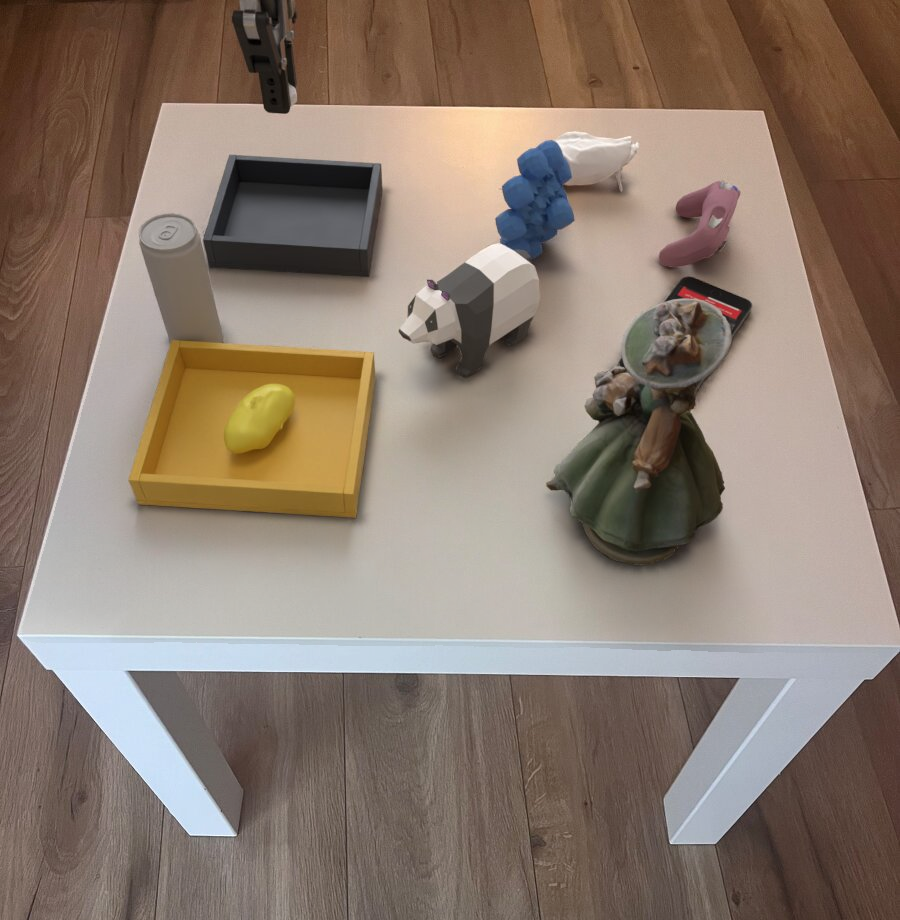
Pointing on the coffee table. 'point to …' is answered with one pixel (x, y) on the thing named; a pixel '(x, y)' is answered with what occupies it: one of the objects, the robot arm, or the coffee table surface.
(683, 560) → the coffee table surface
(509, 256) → the giant panda
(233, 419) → the yellow oblong lump
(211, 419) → the yellow tray
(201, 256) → the beverage can
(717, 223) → the video game controller
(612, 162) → the bird figurine
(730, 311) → the smartphone
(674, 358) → the figurine
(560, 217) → the grapes
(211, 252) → the charcoal tray
